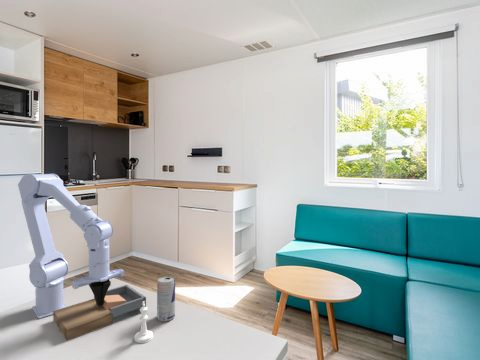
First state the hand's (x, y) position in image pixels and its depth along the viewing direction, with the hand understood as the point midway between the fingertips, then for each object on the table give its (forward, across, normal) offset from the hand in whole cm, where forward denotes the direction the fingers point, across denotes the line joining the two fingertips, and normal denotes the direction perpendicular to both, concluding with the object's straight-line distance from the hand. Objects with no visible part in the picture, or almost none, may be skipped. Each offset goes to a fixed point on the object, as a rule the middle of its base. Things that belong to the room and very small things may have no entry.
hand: (99, 304), depth 88 cm
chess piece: (+4, +4, -20) cm, 21 cm away
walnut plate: (+4, -5, 0) cm, 6 cm away
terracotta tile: (+1, +4, 0) cm, 4 cm away
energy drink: (+4, +14, -15) cm, 21 cm away
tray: (+4, +6, 0) cm, 7 cm away
